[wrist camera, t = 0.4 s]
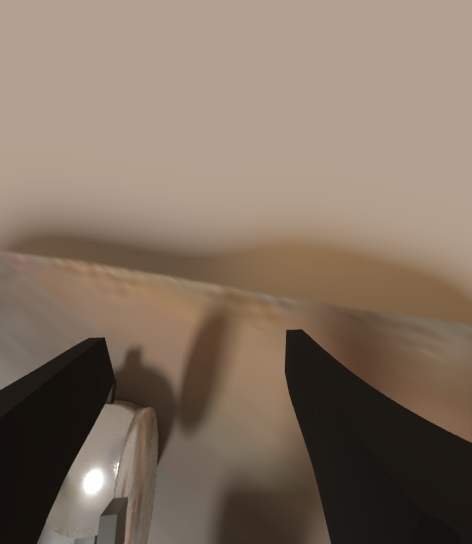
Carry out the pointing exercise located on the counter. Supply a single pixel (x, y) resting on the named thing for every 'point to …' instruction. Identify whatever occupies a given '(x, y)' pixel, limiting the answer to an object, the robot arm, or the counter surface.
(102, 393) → the robot arm
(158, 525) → the counter surface
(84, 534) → the cooker pot
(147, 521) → the cooker lid
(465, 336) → the counter surface
